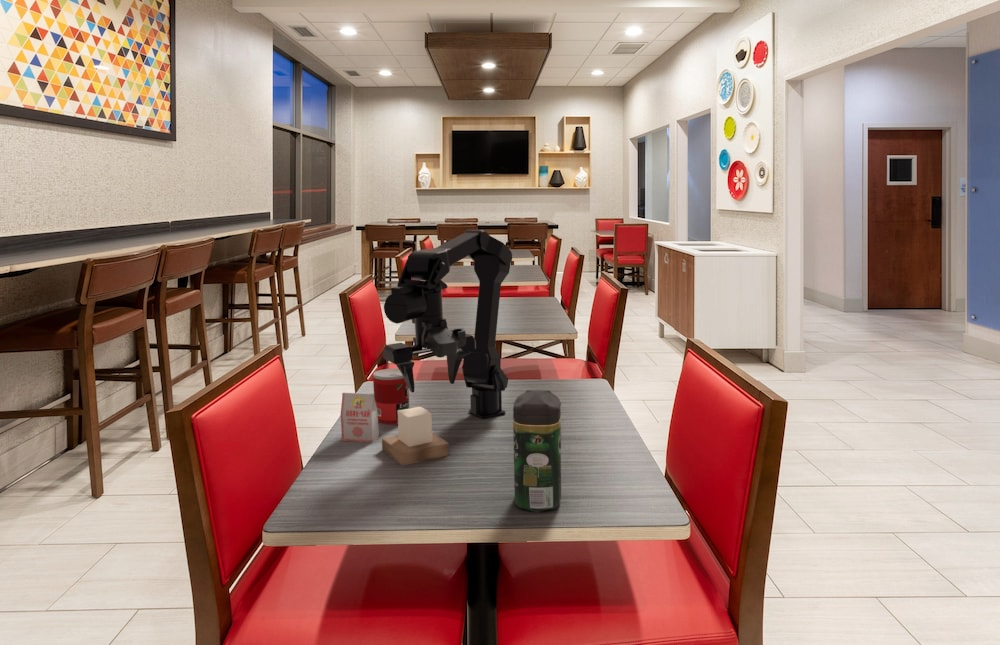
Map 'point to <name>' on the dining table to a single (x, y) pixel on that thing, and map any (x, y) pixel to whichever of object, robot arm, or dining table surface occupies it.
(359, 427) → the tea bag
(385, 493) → the dining table surface
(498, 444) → the dining table surface
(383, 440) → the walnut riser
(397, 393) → the canned food
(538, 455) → the coffee jar
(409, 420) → the cream block
